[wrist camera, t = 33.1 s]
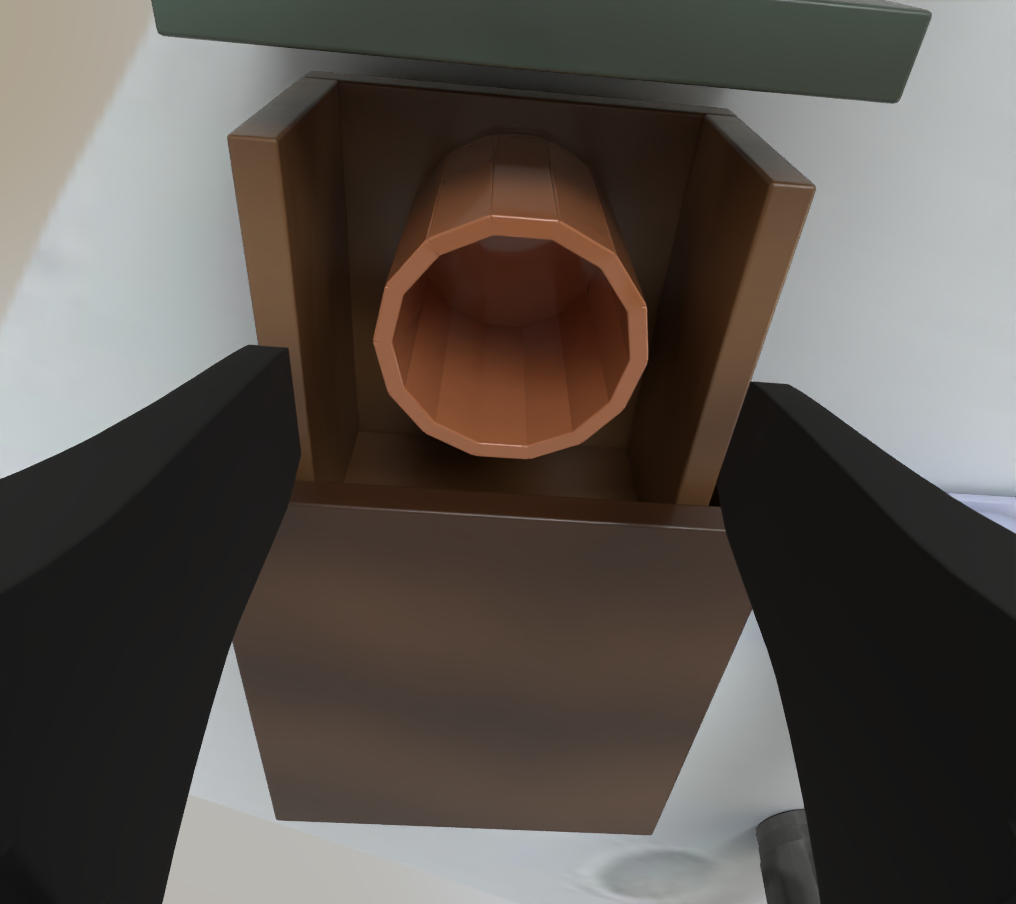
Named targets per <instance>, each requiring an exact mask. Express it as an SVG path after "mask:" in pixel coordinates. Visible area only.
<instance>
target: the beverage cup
mask: <svg viewBox="0 0 1016 904" xmlns="http://www.w3.org/2000/svg"><path fill="white" fill-rule="evenodd" d="M756 836H757V840H758V844H759V853H760V860H761V863H760V866H761V871H762V877H763V882H764V888H765V893H766V899H767V904H820V898H819V891H818V884H817V877H816V870H815V865H814V859H813V853H812V848H811V842H810V836H809V831H808V825H807V819H806V813H805V810H796V811H789V812H785V813H781V814H778V815H775V816H773V817H770V818H768V819H767V820H765V821H764V822H762V823H761V824H760V825H759V827H758V828H757V830H756Z"/></svg>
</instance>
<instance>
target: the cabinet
mask: <svg viewBox="0 0 1016 904" xmlns="http://www.w3.org/2000/svg"><path fill="white" fill-rule="evenodd" d="M751 610H752V606H751V603H750V600H749V598H748V595H747V592H746V589H745V587H744V584H743V581H742V578H741V575H740V573H739V570H738V567H737V564H736V561H735V558H734V555H733V553H732V550H731V547H730V544H729V541H728V538H727V535H726V530H725V526H724V521H723V516H722V511H721V506H720V500H719V494H718V489H717V483H716V485H715V488H714V491H713V494H712V497H711V500H710V503H709V505H708V506H699V505H684V504H668V503H652V502H636V501H620V500H605V499H589V498H573V497H557V496H541V495H526V494H510V493H494V492H478V491H462V490H447V489H431V488H415V487H399V486H383V485H368V484H352V483H336V482H320V481H304V480H295V482H294V486H293V490H292V493H291V497H290V501H289V504H288V508H287V510H286V513H285V515H284V517H283V520H282V522H281V525H280V527H279V530H278V532H277V534H276V537H275V539H274V542H273V544H272V546H271V549H270V551H269V553H268V556H267V558H266V560H265V563H264V565H263V567H262V570H261V572H260V574H259V577H258V579H257V581H256V584H255V586H254V588H253V591H252V593H251V596H250V598H249V600H248V603H247V605H246V607H245V610H244V612H243V614H242V617H241V619H240V621H239V624H238V627H237V629H236V632H235V635H234V637H233V640H232V642H233V646H234V650H235V654H236V658H237V662H238V666H239V670H240V675H241V679H242V683H243V687H244V691H245V695H246V699H247V703H248V707H249V711H250V715H251V719H252V723H253V727H254V731H255V735H256V739H257V744H258V748H259V752H260V756H261V760H262V764H263V768H264V772H265V776H266V780H267V784H268V788H269V792H270V796H271V800H272V804H273V809H274V813H275V817H276V820H283V821H308V822H333V823H358V824H383V825H408V826H432V827H457V828H482V829H507V830H532V831H557V832H582V833H607V834H632V835H652V834H653V831H654V829H655V827H656V825H657V822H658V820H659V818H660V816H661V813H662V811H663V809H664V807H665V804H666V802H667V800H668V798H669V795H670V793H671V791H672V789H673V786H674V784H675V782H676V780H677V777H678V775H679V773H680V771H681V768H682V766H683V764H684V761H685V759H686V757H687V755H688V752H689V750H690V748H691V746H692V743H693V741H694V739H695V737H696V734H697V732H698V730H699V728H700V725H701V723H702V721H703V719H704V716H705V714H706V712H707V710H708V707H709V705H710V703H711V701H712V698H713V696H714V694H715V692H716V689H717V687H718V685H719V683H720V680H721V678H722V676H723V674H724V671H725V669H726V667H727V664H728V662H729V660H730V658H731V655H732V653H733V651H734V649H735V646H736V644H737V642H738V640H739V637H740V635H741V633H742V631H743V628H744V626H745V624H746V622H747V619H748V617H749V615H750V613H751Z"/></svg>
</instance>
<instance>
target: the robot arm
mask: <svg viewBox="0 0 1016 904" xmlns="http://www.w3.org/2000/svg"><path fill="white" fill-rule="evenodd" d="M300 458H301V446H300V438H299V430H298V422H297V413H296V405H295V397H294V389H293V380H292V372H291V364H290V355H289V348H286V347H272V346H259V345H247V346H245V347H243V348H241V349H239V350H237V351H236V352H234V353H232V354H231V355H229V356H227V357H226V358H224V359H222V360H221V361H219V362H218V363H216V364H214V365H213V366H211V367H210V368H208V369H207V370H205V371H203V372H202V373H200V374H199V375H197V376H196V377H194V378H192V379H191V380H189V381H188V382H186V383H184V384H183V385H181V386H180V387H178V388H176V389H175V390H173V391H172V392H170V393H168V394H167V395H165V396H164V397H162V398H160V399H159V400H157V401H156V402H154V403H152V404H151V405H149V406H147V407H145V408H143V409H142V410H140V411H138V412H136V413H135V414H133V415H131V416H129V417H127V418H126V419H124V420H122V421H120V422H119V423H117V424H115V425H113V426H111V427H110V428H108V429H106V430H104V431H103V432H101V433H99V434H97V435H95V436H93V437H92V438H90V439H88V440H86V441H84V442H82V443H80V444H78V445H76V446H74V447H72V448H70V449H68V450H65V451H63V452H61V453H59V454H57V455H55V456H53V457H50V458H48V459H46V460H44V461H41V462H39V463H37V464H35V465H33V466H30V467H28V468H26V469H24V470H21V471H19V472H17V473H14V474H12V475H10V476H7V477H5V478H2V479H0V904H162V902H163V898H164V893H165V889H166V884H167V880H168V875H169V871H170V867H171V863H172V858H173V854H174V849H175V845H176V841H177V837H178V833H179V829H180V825H181V821H182V817H183V813H184V809H185V805H186V801H187V797H188V794H189V790H190V786H191V782H192V778H193V774H194V770H195V766H196V763H197V759H198V755H199V752H200V748H201V744H202V741H203V737H204V734H205V730H206V726H207V723H208V719H209V715H210V712H211V708H212V705H213V701H214V698H215V695H216V691H217V688H218V685H219V681H220V678H221V675H222V671H223V668H224V665H225V661H226V658H227V655H228V651H229V648H230V645H231V643H232V640H233V637H234V635H235V632H236V629H237V627H238V624H239V621H240V619H241V617H242V614H243V612H244V610H245V607H246V605H247V603H248V600H249V598H250V596H251V593H252V591H253V588H254V586H255V584H256V581H257V579H258V577H259V574H260V572H261V570H262V567H263V565H264V563H265V560H266V558H267V556H268V553H269V551H270V549H271V546H272V544H273V542H274V539H275V537H276V534H277V532H278V530H279V527H280V525H281V522H282V520H283V517H284V515H285V513H286V510H287V508H288V504H289V501H290V497H291V493H292V490H293V486H294V482H295V478H296V474H297V470H298V466H299V462H300ZM716 483H717V489H718V494H719V500H720V506H721V511H722V516H723V521H724V526H725V530H726V535H727V538H728V541H729V544H730V547H731V550H732V553H733V555H734V558H735V561H736V564H737V567H738V570H739V573H740V575H741V578H742V581H743V584H744V587H745V589H746V592H747V595H748V598H749V600H750V603H751V606H752V609H753V611H754V614H755V617H756V620H757V623H758V625H759V628H760V631H761V634H762V636H763V639H764V642H765V645H766V647H767V650H768V653H769V657H770V660H771V663H772V666H773V669H774V673H775V676H776V679H777V684H778V688H779V692H780V696H781V700H782V705H783V709H784V713H785V717H786V722H787V726H788V730H789V734H790V739H791V744H792V748H793V753H794V758H795V763H796V768H797V773H798V777H799V782H800V787H801V792H802V797H803V802H804V808H805V813H806V819H807V825H808V831H809V836H810V842H811V848H812V853H813V859H814V865H815V870H816V877H817V884H818V891H819V898H820V904H1016V497H1005V496H989V495H974V494H959V493H946V492H944V491H943V490H941V489H940V488H938V487H936V486H935V485H933V484H932V483H930V482H929V481H927V480H926V479H924V478H923V477H921V476H920V475H918V474H916V473H915V472H914V471H912V470H911V469H909V468H908V467H906V466H905V465H903V464H902V463H900V462H899V461H898V460H896V459H895V458H893V457H892V456H890V455H889V454H888V453H886V452H885V451H883V450H882V449H881V448H879V447H878V446H876V445H875V444H874V443H872V442H871V441H869V440H868V439H867V438H865V437H864V436H863V435H861V434H860V433H859V432H857V431H856V430H854V429H853V428H852V427H850V426H849V425H848V424H846V423H845V422H843V421H842V420H841V419H839V418H838V417H837V416H835V415H834V414H833V413H831V412H830V411H828V410H827V409H826V408H824V407H823V406H821V405H820V404H819V403H817V402H816V401H814V400H813V399H811V398H810V397H808V396H807V395H805V394H804V393H802V392H801V391H799V390H797V389H796V388H794V387H792V386H790V385H789V384H778V383H764V382H750V384H749V387H748V389H747V392H746V395H745V398H744V401H743V404H742V407H741V410H740V413H739V416H738V419H737V422H736V425H735V428H734V431H733V434H732V437H731V440H730V443H729V446H728V449H727V452H726V455H725V458H724V460H723V463H722V466H721V469H720V472H719V475H718V478H717V481H716Z"/></svg>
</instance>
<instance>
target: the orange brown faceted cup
mask: <svg viewBox="0 0 1016 904" xmlns="http://www.w3.org/2000/svg"><path fill="white" fill-rule="evenodd" d="M373 344H374V348H375V351H376V355H377V358H378V362H379V365H380V368H381V372H382V375H383V379H384V382H385V386H386V389H387V392H388V393H389V395H390V396H391V397H392V398H393V399H394V401H395V402H396V403H397V404H398V405H399V406H400V407H401V408H402V409H403V410H404V412H405V413H406V414H407V415H408V416H409V417H410V418H411V419H412V420H413V421H414V422H415V424H416V425H417V426H418V427H419V428H420V429H421V430H422V431H423V432H425V433H426V434H427V435H429V436H432V437H434V438H436V439H438V440H440V441H442V442H445V443H447V444H449V445H451V446H453V447H455V448H458V449H460V450H462V451H464V452H466V453H469V454H471V455H475V456H482V457H497V458H513V459H528V458H529V459H533V458H536V457H539V456H543V455H546V454H549V453H553V452H556V451H559V450H563V449H566V448H569V447H573V446H576V445H579V444H581V443H583V442H584V441H586V440H587V439H588V438H589V437H591V436H592V435H593V434H594V433H596V432H597V431H598V430H599V429H601V428H602V427H603V426H604V425H606V424H607V423H608V422H609V421H611V420H612V419H613V418H615V417H616V416H617V415H618V414H620V413H621V412H622V411H623V409H625V407H626V405H627V403H628V401H629V399H630V397H631V395H632V393H633V391H634V389H635V387H636V385H637V383H638V381H639V379H640V377H641V375H642V373H643V371H644V369H645V367H646V365H647V363H648V320H647V306H646V302H645V299H644V296H643V293H642V291H641V288H640V285H639V282H638V279H637V276H636V274H635V271H634V268H633V265H632V262H631V259H630V257H629V254H628V251H627V248H626V245H625V242H624V240H623V237H622V234H621V231H620V228H619V225H618V222H617V220H616V217H615V214H614V211H613V208H612V206H611V205H610V203H609V201H608V199H607V198H606V196H605V194H604V192H603V189H602V187H601V185H600V184H599V182H598V180H597V179H596V177H595V176H594V174H593V173H592V172H591V170H590V169H589V168H588V167H587V166H586V165H585V164H584V163H583V162H582V161H581V160H580V159H579V158H578V157H576V156H575V155H574V154H573V153H571V152H570V151H568V150H567V149H565V148H564V147H562V146H560V145H558V144H556V143H554V142H552V141H550V140H547V139H544V138H540V137H537V136H533V135H527V134H521V133H504V134H496V135H490V136H486V137H482V138H479V139H476V140H474V141H471V142H469V143H466V144H464V145H463V146H461V147H459V148H458V149H456V150H454V151H453V152H451V153H450V154H449V155H448V156H446V157H445V158H444V159H443V160H441V162H440V163H439V164H438V165H437V166H436V167H435V168H434V169H433V170H432V171H431V173H430V174H429V176H428V177H427V178H426V180H425V181H424V183H423V185H422V186H421V187H420V189H419V190H418V191H417V193H416V195H415V198H414V201H413V204H412V207H411V210H410V213H409V216H408V218H407V221H406V224H405V227H404V230H403V233H402V236H401V239H400V242H399V245H398V248H397V251H396V254H395V257H394V260H393V263H392V266H391V269H390V272H389V275H388V278H387V281H386V284H385V287H384V291H383V296H382V300H381V305H380V309H379V313H378V318H377V322H376V327H375V331H374V336H373Z"/></svg>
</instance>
